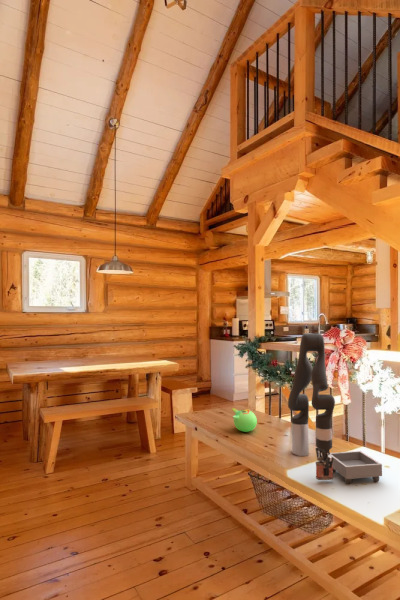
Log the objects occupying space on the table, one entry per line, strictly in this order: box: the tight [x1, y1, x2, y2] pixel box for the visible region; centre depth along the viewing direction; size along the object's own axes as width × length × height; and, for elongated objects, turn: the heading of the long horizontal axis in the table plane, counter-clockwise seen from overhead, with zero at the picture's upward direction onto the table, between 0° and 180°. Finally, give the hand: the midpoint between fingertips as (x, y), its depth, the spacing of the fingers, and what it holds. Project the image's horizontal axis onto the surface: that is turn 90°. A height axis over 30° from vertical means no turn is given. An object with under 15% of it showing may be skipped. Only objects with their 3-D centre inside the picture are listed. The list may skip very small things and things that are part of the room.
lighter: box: [315, 456, 334, 481], centre depth 184 cm, size 8×3×10 cm, turn 92°
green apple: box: [231, 407, 258, 433], centre depth 265 cm, size 18×17×15 cm
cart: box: [330, 450, 383, 485], centre depth 190 cm, size 18×18×8 cm
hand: (324, 473), depth 184 cm, fingers closed on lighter, 3 cm apart
